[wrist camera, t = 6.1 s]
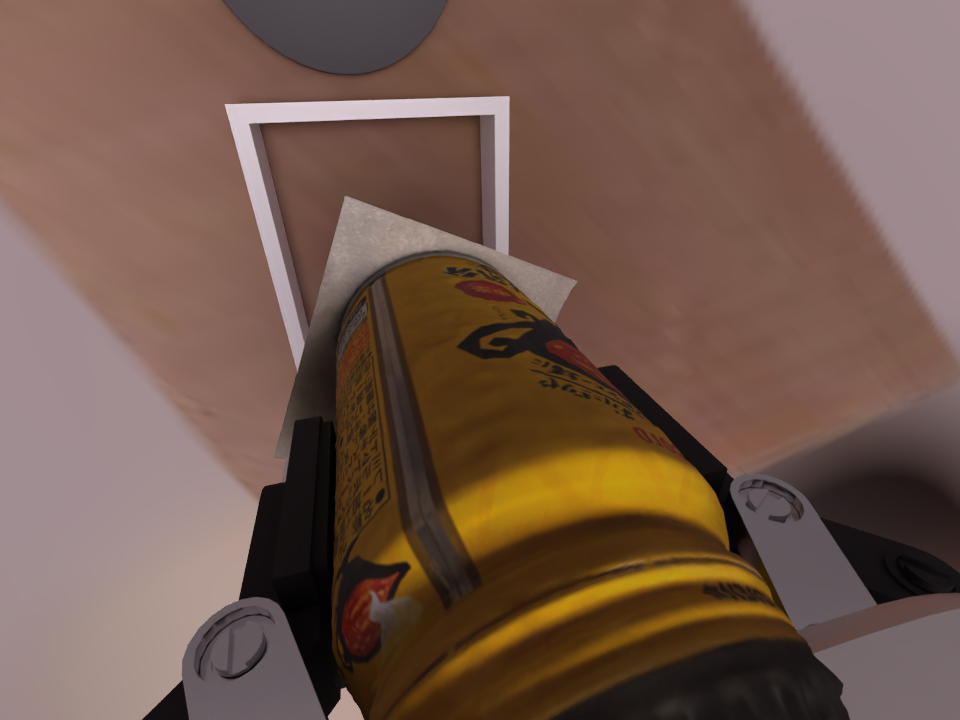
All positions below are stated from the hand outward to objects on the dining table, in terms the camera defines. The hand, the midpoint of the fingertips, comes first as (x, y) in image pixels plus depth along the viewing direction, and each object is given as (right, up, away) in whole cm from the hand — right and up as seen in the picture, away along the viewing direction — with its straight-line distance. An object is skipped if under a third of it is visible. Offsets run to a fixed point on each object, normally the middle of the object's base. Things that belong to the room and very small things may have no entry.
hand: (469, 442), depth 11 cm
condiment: (-2, +2, +4) cm, 4 cm away
